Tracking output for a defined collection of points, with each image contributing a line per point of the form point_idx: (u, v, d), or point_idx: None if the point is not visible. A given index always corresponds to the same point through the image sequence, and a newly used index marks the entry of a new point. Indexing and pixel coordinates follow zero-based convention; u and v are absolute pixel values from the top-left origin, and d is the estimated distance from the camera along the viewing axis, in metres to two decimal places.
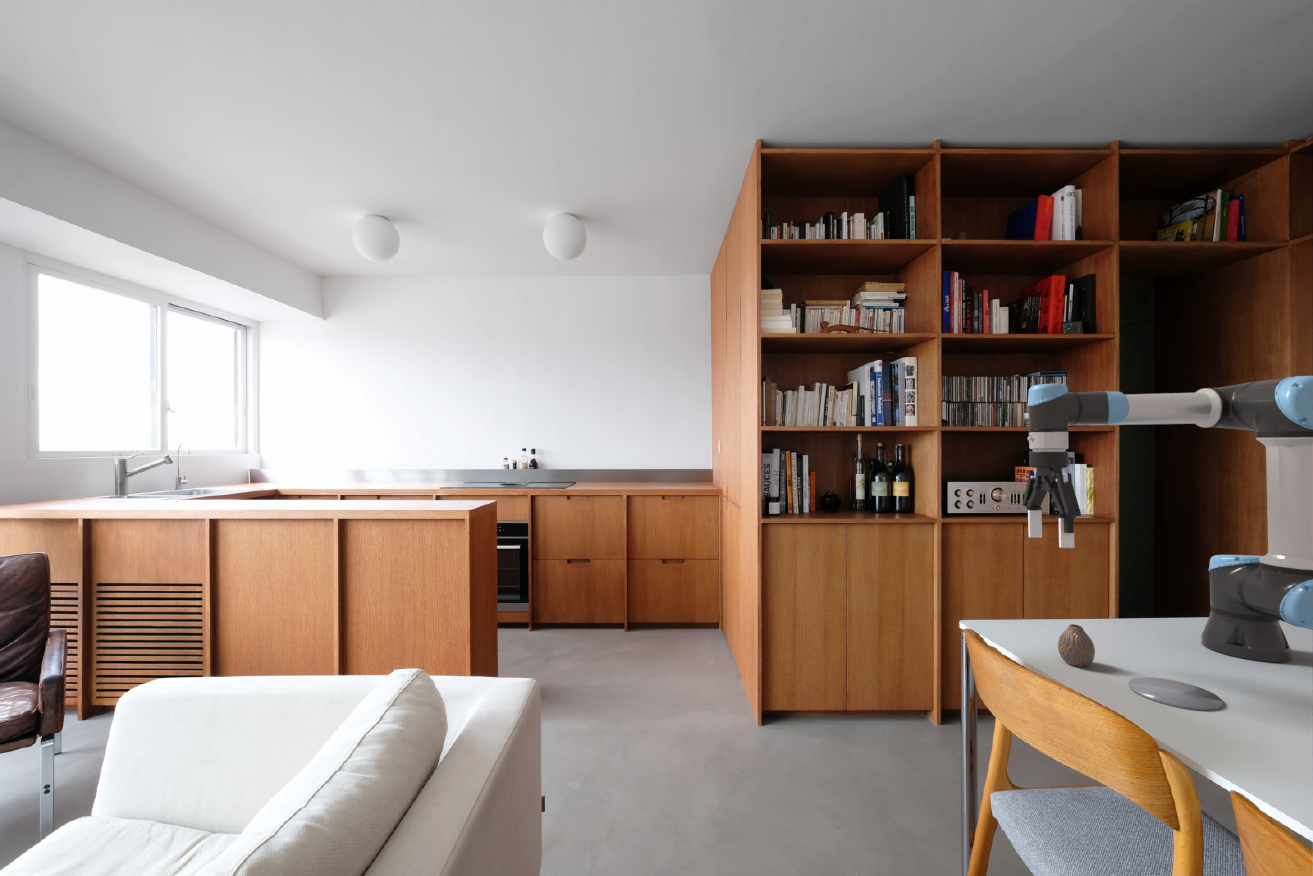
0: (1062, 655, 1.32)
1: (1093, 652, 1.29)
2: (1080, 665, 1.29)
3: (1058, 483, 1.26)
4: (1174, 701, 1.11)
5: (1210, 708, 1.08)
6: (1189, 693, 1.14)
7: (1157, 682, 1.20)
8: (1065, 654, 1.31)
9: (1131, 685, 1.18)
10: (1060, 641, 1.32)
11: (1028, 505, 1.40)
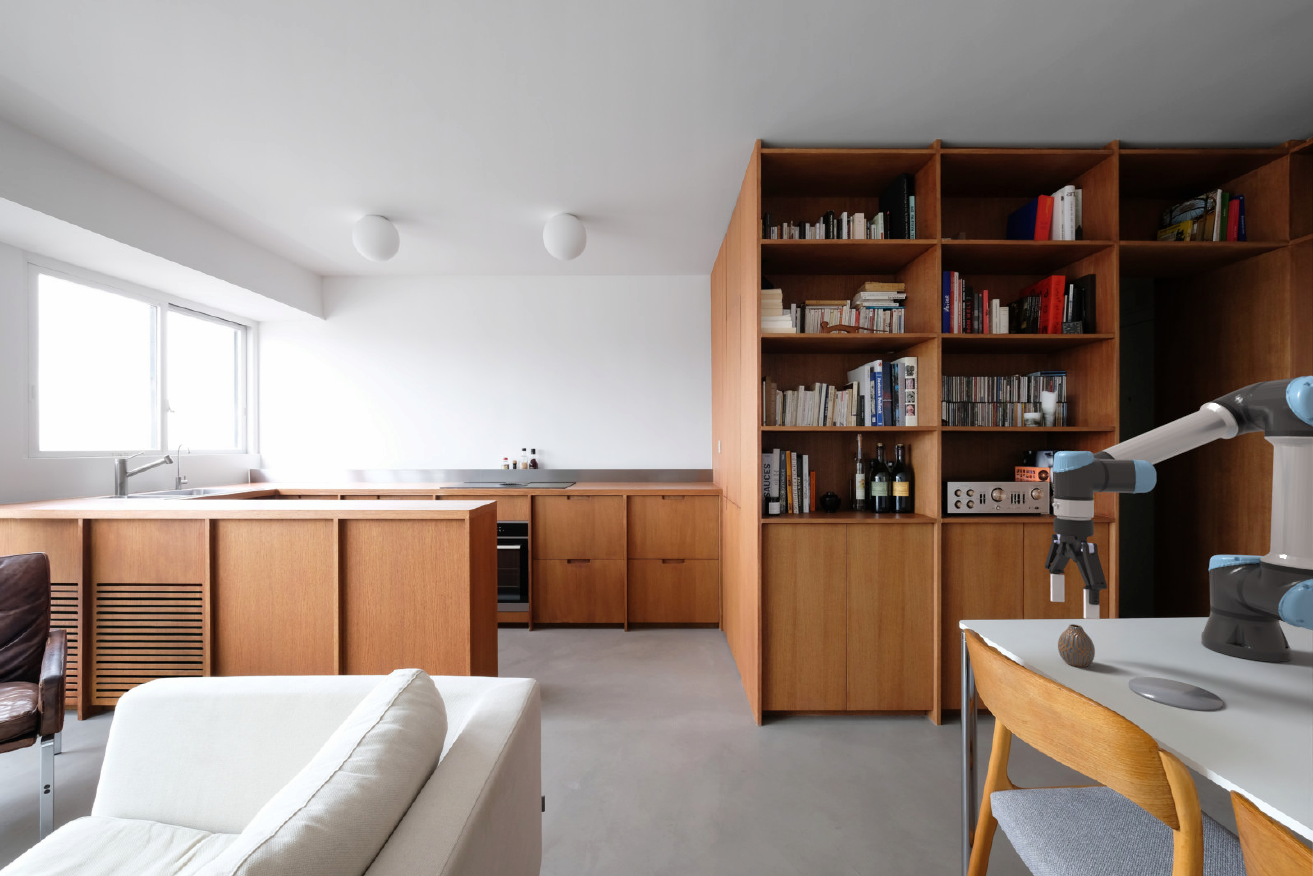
0: (1062, 655, 1.32)
1: (1093, 652, 1.29)
2: (1080, 665, 1.29)
3: (1084, 553, 1.26)
4: (1174, 701, 1.11)
5: (1210, 708, 1.08)
6: (1189, 693, 1.14)
7: (1157, 682, 1.20)
8: (1065, 654, 1.31)
9: (1131, 685, 1.18)
10: (1060, 641, 1.32)
11: (1051, 569, 1.39)
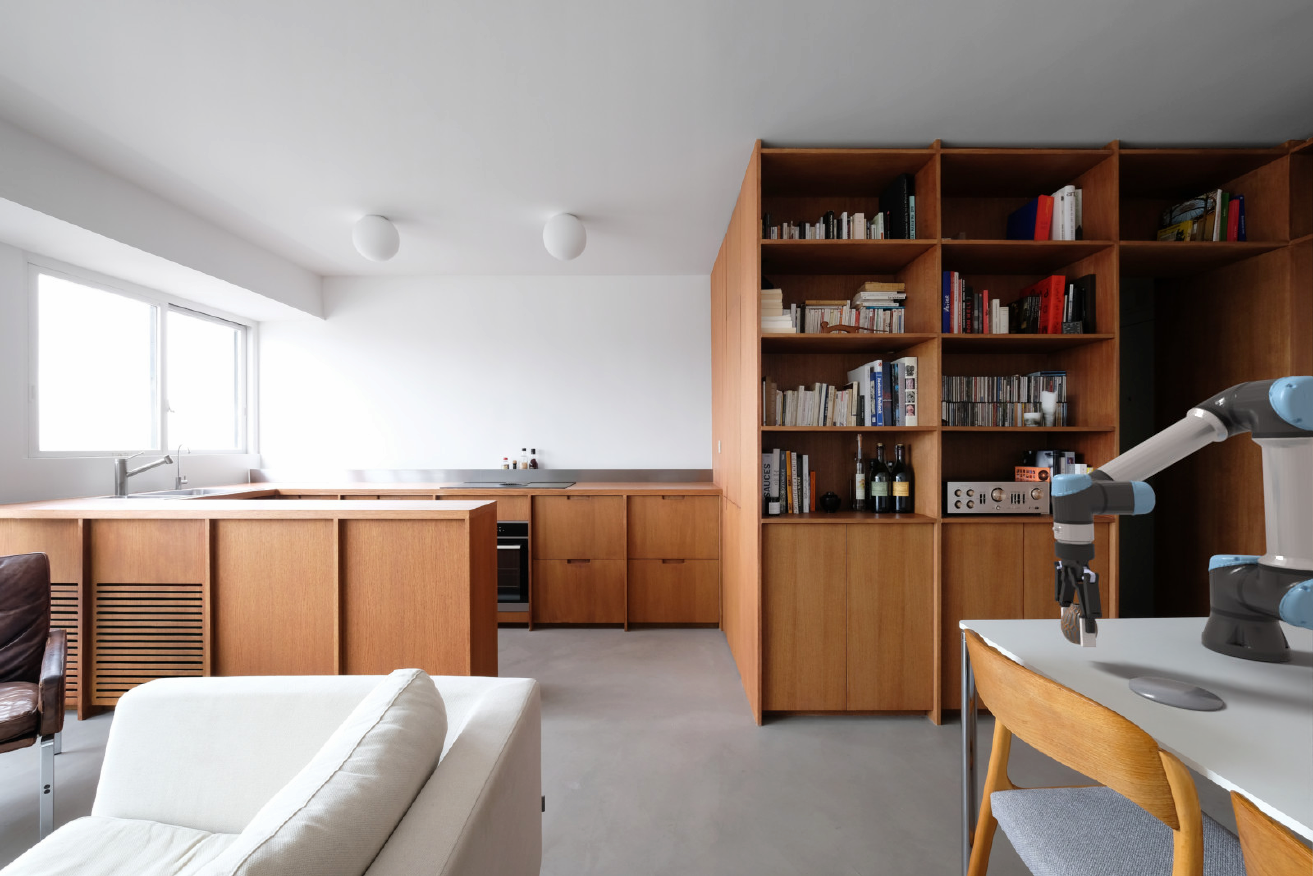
0: (1065, 634, 1.32)
1: (1096, 629, 1.29)
2: None
3: (1084, 582, 1.26)
4: (1174, 701, 1.11)
5: (1210, 708, 1.08)
6: (1189, 693, 1.14)
7: (1157, 682, 1.20)
8: (1068, 633, 1.31)
9: (1131, 685, 1.18)
10: (1063, 620, 1.32)
11: (1060, 601, 1.36)
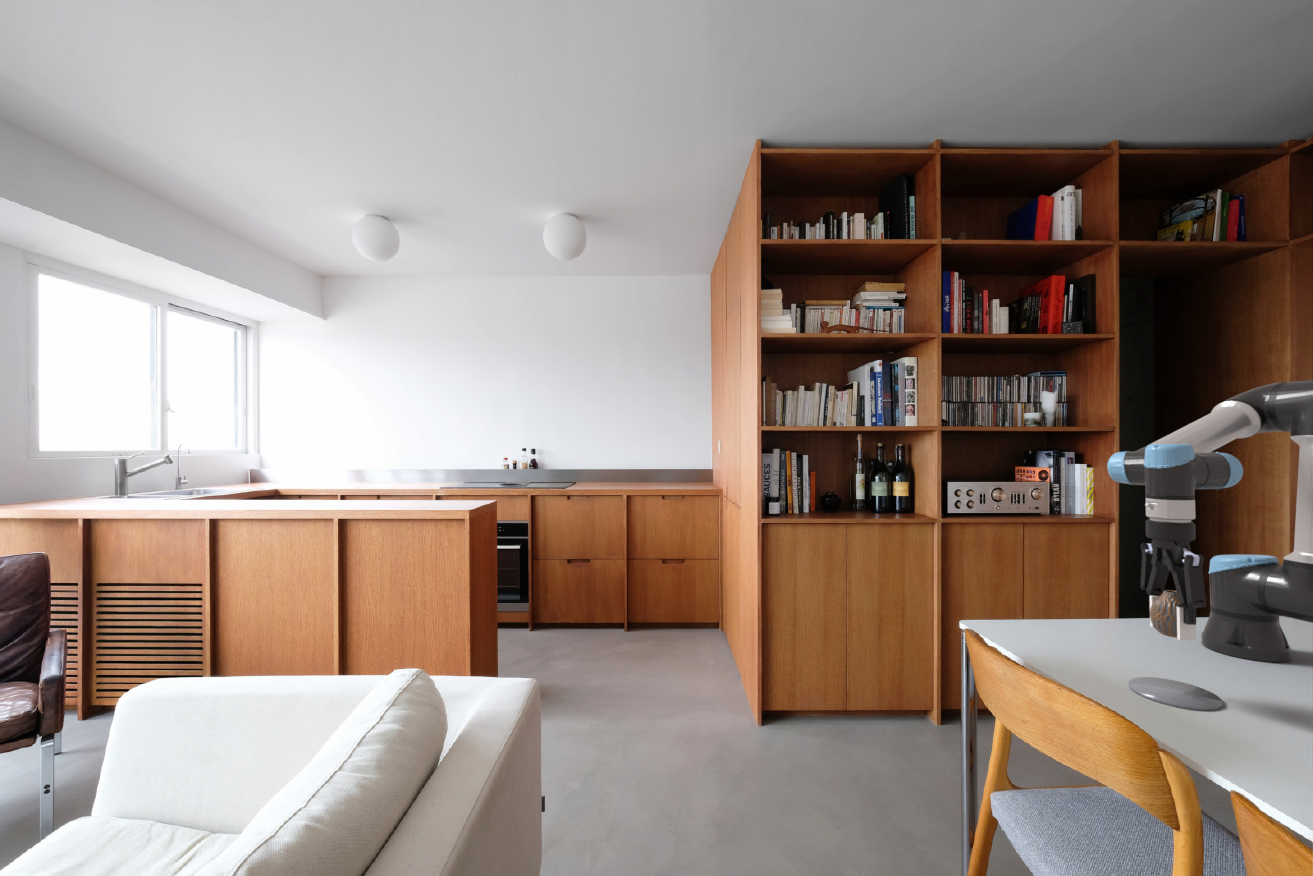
0: (1157, 625, 1.15)
1: None
2: None
3: (1185, 566, 1.10)
4: (1174, 701, 1.11)
5: (1210, 708, 1.08)
6: (1189, 693, 1.14)
7: (1157, 682, 1.20)
8: (1161, 624, 1.15)
9: (1131, 685, 1.18)
10: (1154, 609, 1.16)
11: (1149, 588, 1.20)
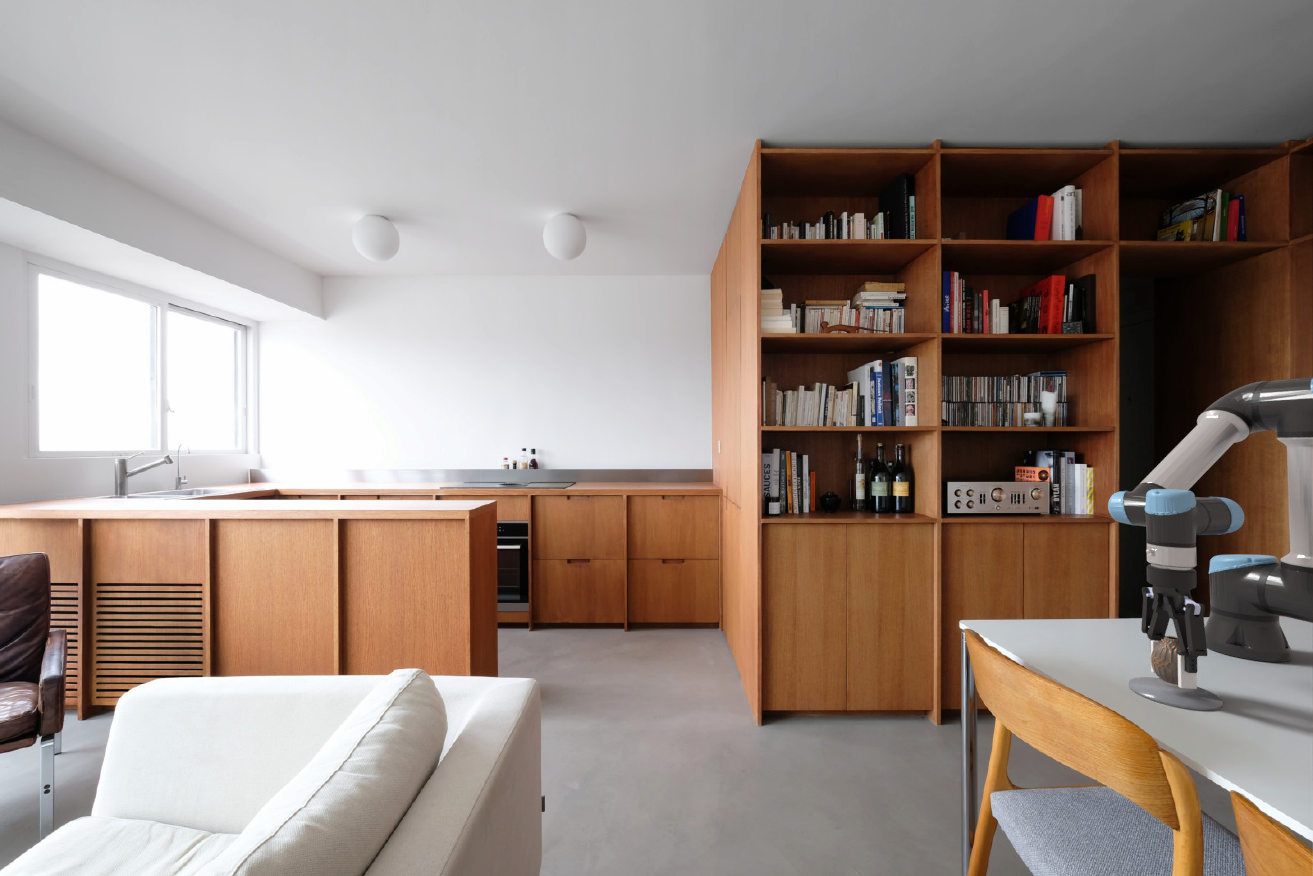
0: (1158, 671, 1.15)
1: None
2: None
3: (1186, 614, 1.10)
4: (1174, 701, 1.11)
5: (1210, 708, 1.08)
6: (1189, 693, 1.14)
7: (1157, 682, 1.20)
8: (1162, 670, 1.14)
9: (1131, 685, 1.18)
10: (1155, 655, 1.16)
11: (1150, 633, 1.20)
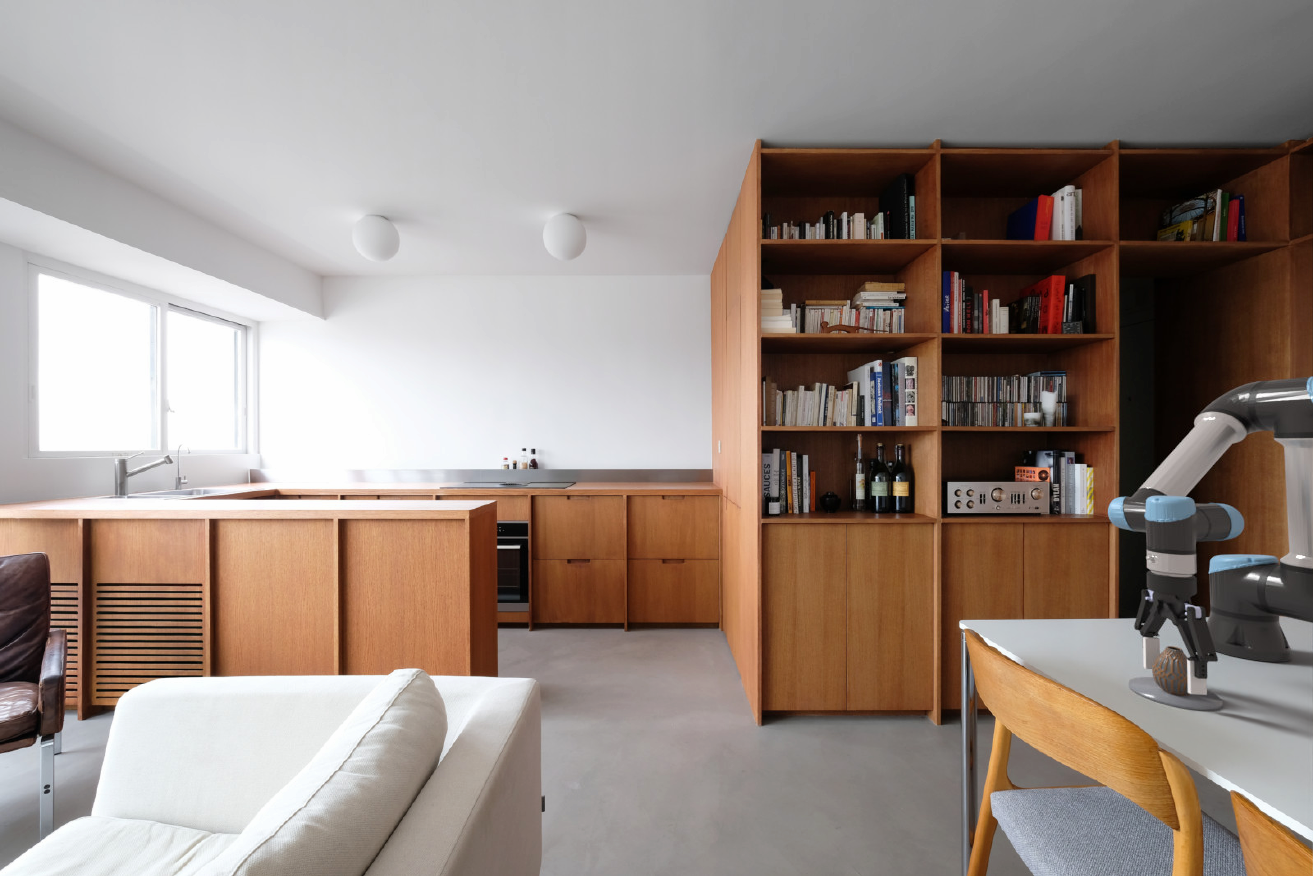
0: (1159, 682, 1.15)
1: None
2: (1181, 693, 1.13)
3: (1189, 618, 1.10)
4: (1174, 701, 1.11)
5: (1210, 708, 1.08)
6: None
7: None
8: (1163, 681, 1.14)
9: (1131, 685, 1.18)
10: (1156, 665, 1.16)
11: (1143, 631, 1.22)
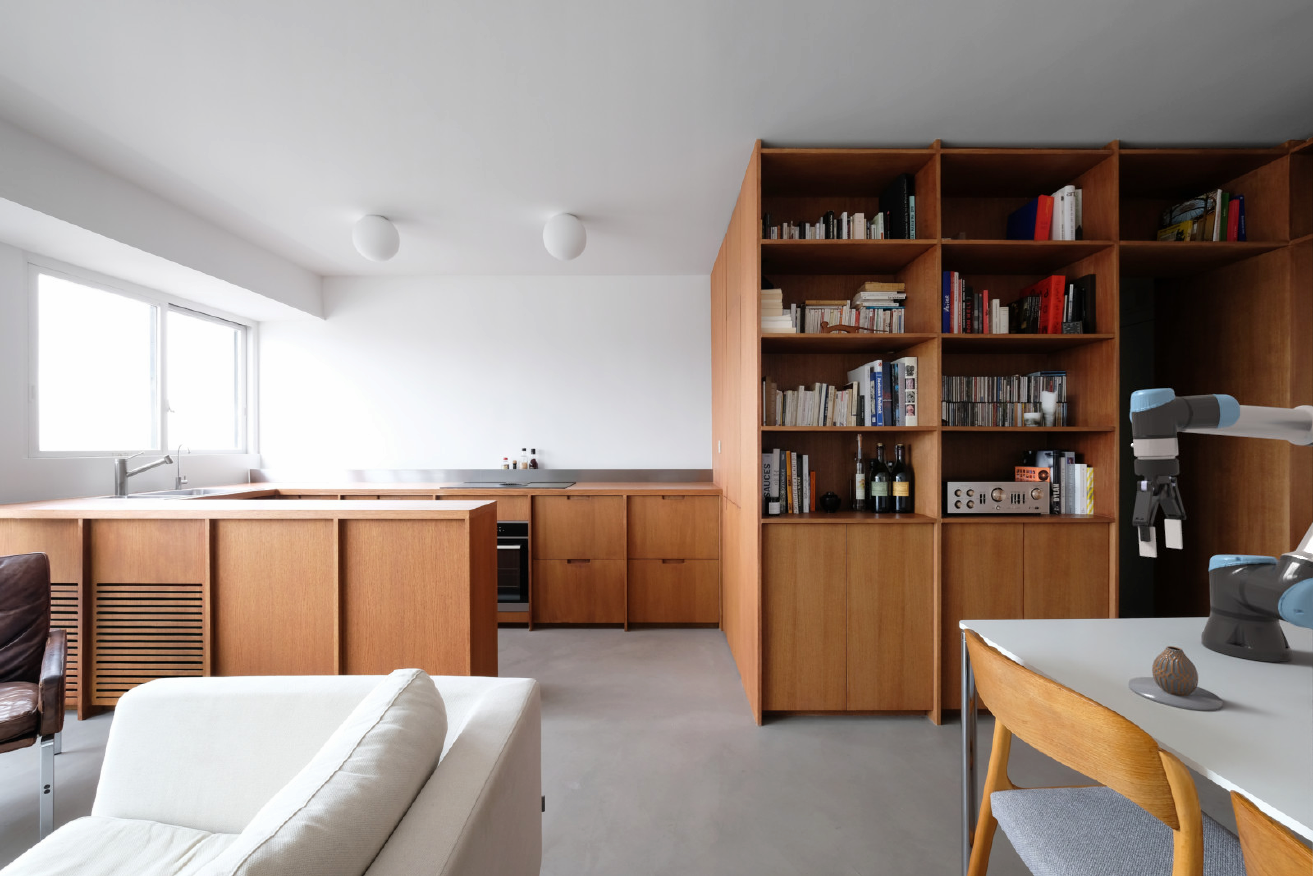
0: (1159, 682, 1.15)
1: (1197, 679, 1.12)
2: (1181, 694, 1.13)
3: None
4: (1174, 701, 1.11)
5: (1210, 708, 1.08)
6: None
7: None
8: (1163, 681, 1.14)
9: (1131, 685, 1.18)
10: (1156, 665, 1.16)
11: None
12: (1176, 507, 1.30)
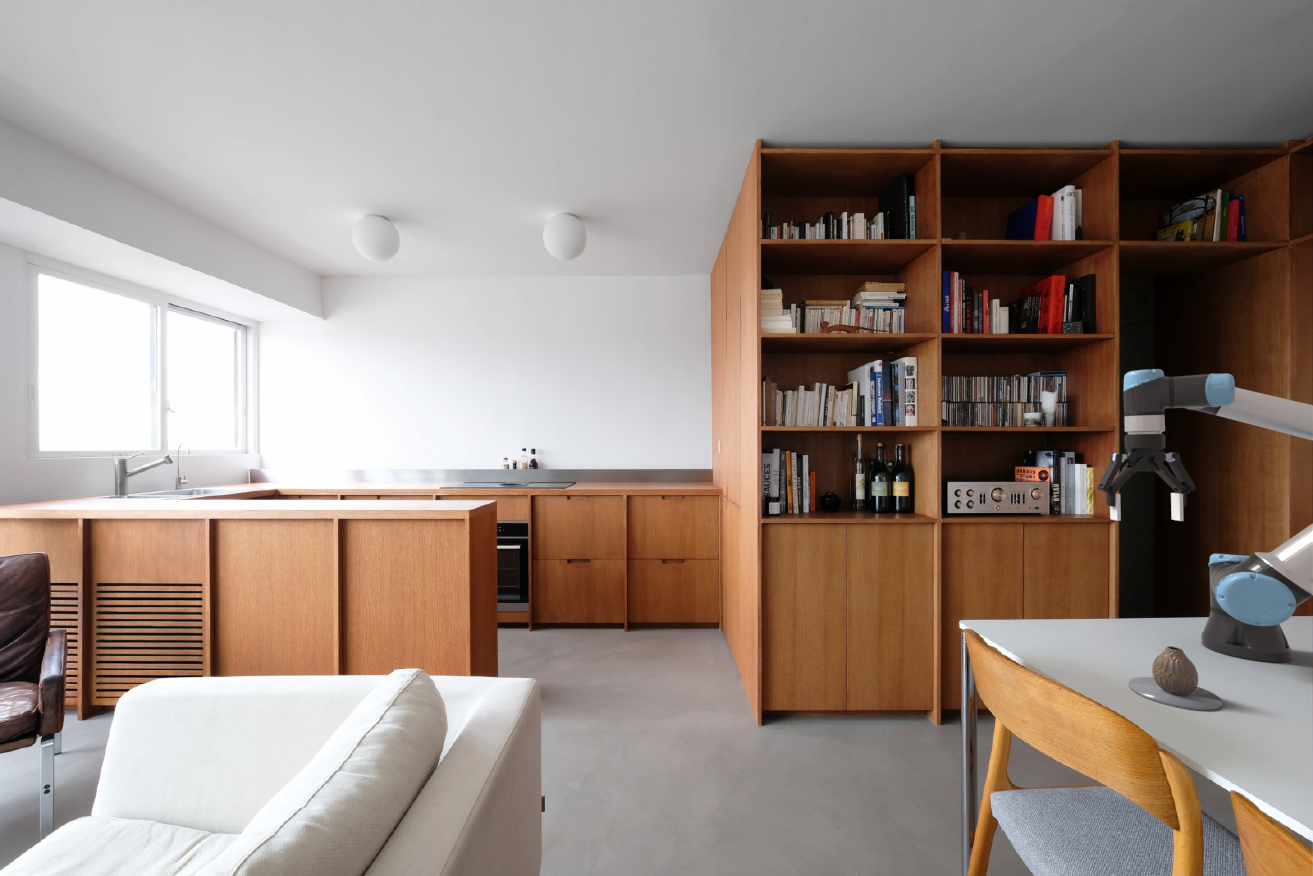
0: (1159, 682, 1.15)
1: (1197, 679, 1.12)
2: (1181, 694, 1.13)
3: None
4: (1174, 701, 1.11)
5: (1210, 708, 1.08)
6: None
7: None
8: (1163, 681, 1.14)
9: (1131, 685, 1.18)
10: (1156, 665, 1.16)
11: None
12: (1175, 481, 1.38)
